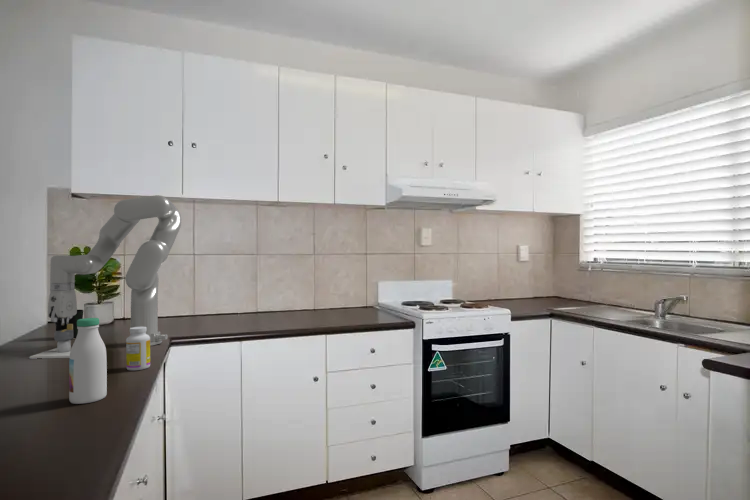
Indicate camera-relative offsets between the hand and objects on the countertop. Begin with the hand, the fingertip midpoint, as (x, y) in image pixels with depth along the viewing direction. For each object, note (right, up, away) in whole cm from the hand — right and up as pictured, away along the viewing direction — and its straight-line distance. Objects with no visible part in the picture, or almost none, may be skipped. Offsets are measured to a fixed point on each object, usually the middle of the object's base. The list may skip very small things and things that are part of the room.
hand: (61, 335), depth 160 cm
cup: (-12, -6, +23) cm, 26 cm away
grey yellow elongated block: (+4, -1, -3) cm, 6 cm away
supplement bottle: (+45, -5, -27) cm, 53 cm away
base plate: (+6, -5, -6) cm, 10 cm away
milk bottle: (+49, -5, -56) cm, 74 cm away
